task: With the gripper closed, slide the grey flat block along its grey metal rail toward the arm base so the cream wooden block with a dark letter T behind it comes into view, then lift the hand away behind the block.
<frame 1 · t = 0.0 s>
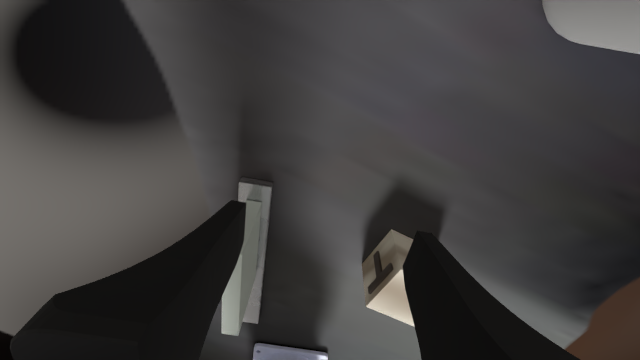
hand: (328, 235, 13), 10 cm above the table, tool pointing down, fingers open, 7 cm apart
letter block: (398, 256, 27), on the table
grey flat block: (242, 266, 23), point 4 cm above the table, slide at 0.0 cm
rail: (252, 256, 28), on the table
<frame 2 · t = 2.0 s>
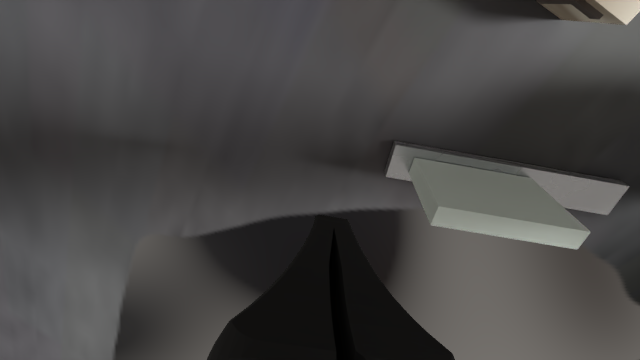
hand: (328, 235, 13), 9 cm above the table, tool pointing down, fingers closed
grey flat block: (487, 198, 18), point 4 cm above the table, slide at 0.0 cm
rail: (500, 175, 22), on the table
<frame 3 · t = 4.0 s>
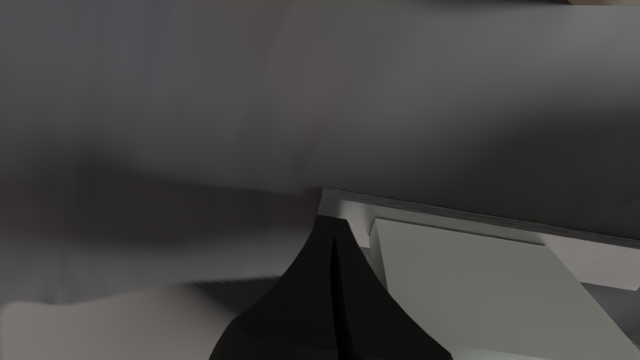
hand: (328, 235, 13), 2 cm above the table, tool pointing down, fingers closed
grey flat block: (483, 292, 12), point 4 cm above the table, slide at 1.1 cm, touching gripper
rail: (482, 235, 15), on the table
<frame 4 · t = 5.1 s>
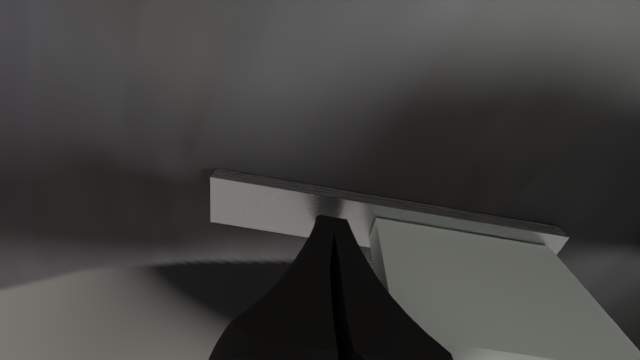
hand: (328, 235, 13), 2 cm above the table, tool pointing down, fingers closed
grey flat block: (483, 292, 12), point 4 cm above the table, slide at 5.9 cm, touching gripper
rail: (384, 218, 15), on the table
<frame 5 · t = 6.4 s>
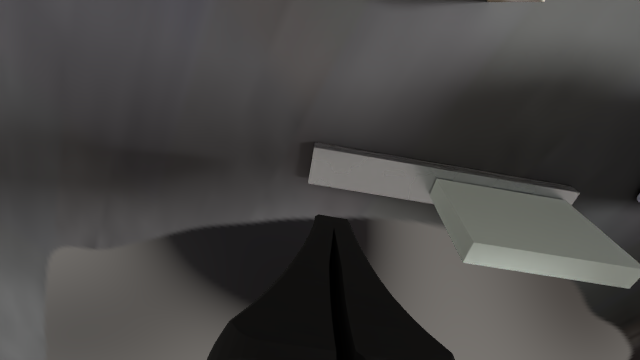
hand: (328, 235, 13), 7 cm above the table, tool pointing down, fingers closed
grey flat block: (521, 227, 16), point 4 cm above the table, slide at 6.0 cm
rail: (438, 181, 19), on the table
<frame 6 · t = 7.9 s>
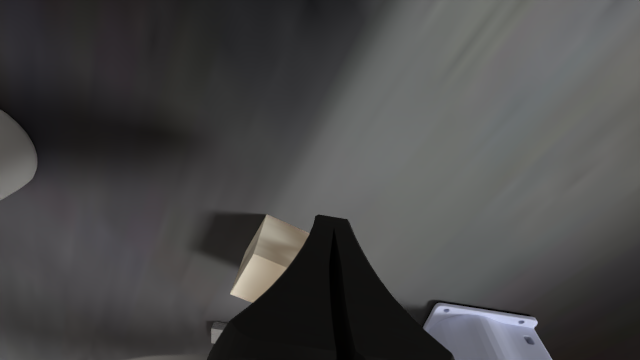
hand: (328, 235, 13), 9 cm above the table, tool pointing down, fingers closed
letter block: (280, 243, 26), on the table
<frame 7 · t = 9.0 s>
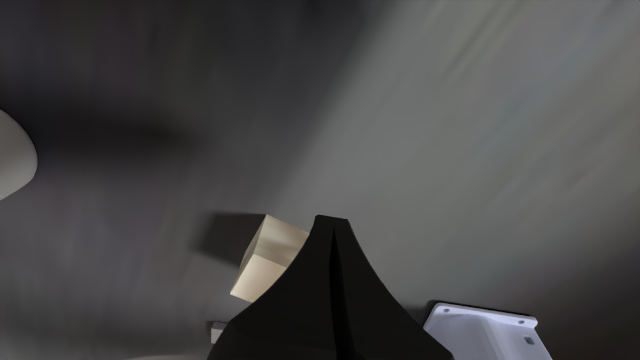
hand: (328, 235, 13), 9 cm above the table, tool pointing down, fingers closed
letter block: (280, 243, 26), on the table
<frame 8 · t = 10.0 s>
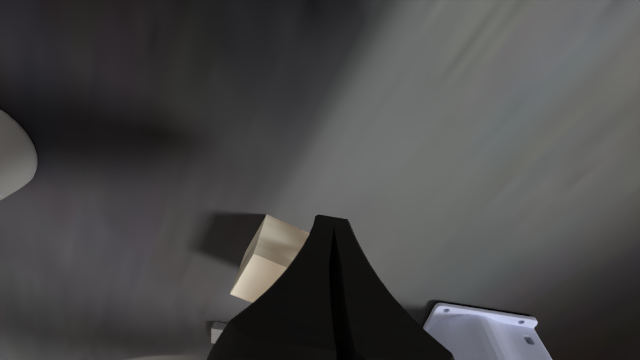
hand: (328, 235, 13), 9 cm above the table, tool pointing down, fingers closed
letter block: (280, 243, 26), on the table
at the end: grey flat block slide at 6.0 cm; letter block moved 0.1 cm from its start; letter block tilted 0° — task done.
